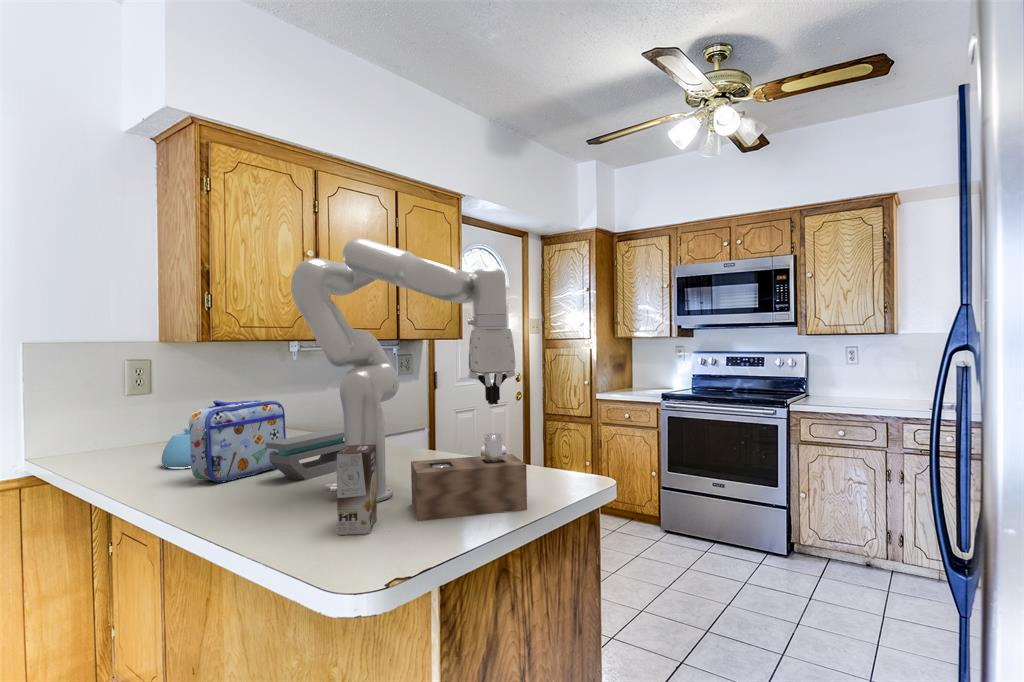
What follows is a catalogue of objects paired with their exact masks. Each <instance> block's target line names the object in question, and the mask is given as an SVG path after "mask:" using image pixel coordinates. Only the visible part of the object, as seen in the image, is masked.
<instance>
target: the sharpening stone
mask: <svg viewBox="0 0 1024 682" xmlns="http://www.w3.org/2000/svg"><path fill="white" fill-rule="evenodd" d="M266 448H269V449H277V450H278V452H276V453H271V454H269V460H270V463H271V464H273V465H274V466H275V468H276V469H277V470H279V472H281V473H282V474H283V475H284V477H286V478H290V477H291V478H292V479H298V480H304V481H305V480H306V481H308V480H311V479H314V478H319V477H321V476H325V475H328V474H332V473H335V472H336V473H337V453H338V452H339V451H340V450H342V449H343V448H344V428H343V429H342V428H332V429H331V428H330V429H327V430H322V431H316V432H311V433H306V434H302V435H301V434H300V435H296V436H290V437H286V439H281V440H276V441H271V442H266ZM318 456H319V457H318ZM314 457H318V458H317V459H313V460H309V461H306V462H301V463H300V461H301V460H306V459H310V458H314Z"/></svg>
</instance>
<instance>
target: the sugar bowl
mask: <svg viewBox="0 0 1024 682" xmlns="http://www.w3.org/2000/svg"><path fill="white" fill-rule="evenodd" d="M161 464H162V465H163V466H164V467H165V466H167V467H188V466H191V455H190V432H189V427H186V428H184V429H183V432H180V433H176V434H173V435H172V436H171V437H170V439H169V440H168V442H167V444H166V445H165V447H164V449H163V452H162V454H161Z"/></svg>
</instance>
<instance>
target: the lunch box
mask: <svg viewBox="0 0 1024 682" xmlns="http://www.w3.org/2000/svg"><path fill="white" fill-rule="evenodd" d="M212 403H213V404H214V405H211V406H208V407H207V406H206V407H204V408H200V409H197V410H195V411H194V412H192V414H191V415H190V417H189V420H188V428H189V432H190V455H191V474H192V476H193V477H194V478H196V480H206V481H212V482H215V483H224V482H223V481H228V480H232V479H236V478H239V479H241V478H240V477H243V478H246V477H245V476H247V477H251V476H254V475H257V474H259V473H263V472H266V471H268V470H271V469H274V468H276V467H275V466H274V465H273V464H271V463H270V460H269V454H271V453H276V452H278V450H277V449H269V448H266V442H271V441H276V440H281V439H286V438H287V437H286V435H287V434H286V413H285V409H284V408H285V407H284V406H283V404H282V403H280V402H279V401H276V400H265V401H263V400H262V401H261V400H260V399H259V400H253V401H252V400H241V401H230V402H227V401H220V400H213V401H212ZM250 475H251V476H250ZM236 480H237V479H236ZM232 481H233V480H232ZM228 482H229V481H228Z"/></svg>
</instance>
